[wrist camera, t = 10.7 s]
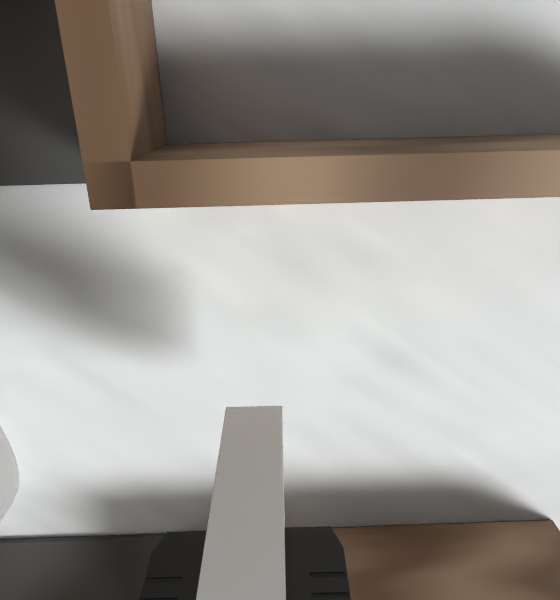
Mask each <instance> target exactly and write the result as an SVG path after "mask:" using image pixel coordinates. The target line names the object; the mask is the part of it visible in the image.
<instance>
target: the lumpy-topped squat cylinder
mask: <svg viewBox="0 0 560 600" xmlns="http://www.w3.org/2000/svg"><path fill="white" fill-rule="evenodd" d="M18 486H19V471H18V466H17V462H16V458H15V456H14V453H13V450H12V448H11V446H10V443H9V441H8V439H7V437H6V435H5V433H4V431H3V430H2V428H1V426H0V521H1V520H2V518H3V517H4V515H5V514H6V512H7V510H8V509H9V507H10V506H11V504H12V503H13V501H14V499H15V497H16V494H17V491H18Z"/></svg>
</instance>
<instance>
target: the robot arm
mask: <svg viewBox="0 0 560 600" xmlns="http://www.w3.org/2000/svg"><path fill="white" fill-rule="evenodd" d="M140 600H351V597H350V588H349V581H348V576H347V568H346V561H345V554H344V548H343V546H342V544H341V542H340V541H339V539H338V538H337V536H336V534H335V533H334V531H333V530H332V528H331V527H296V528H285V516H284V471H283V431H282V406H259V407H226V411H225V417H224V424H223V430H222V437H221V443H220V449H219V456H218V462H217V469H216V475H215V481H214V488H213V494H212V500H211V507H210V513H209V520H208V526H207V531H186V532H167V533H166V534H165V535H164V537H163V538H162V540H161V541H160V542H159V544H158V545H157V546H156V548H155V549H154V551H153V552H152V554H151V558H150V561H149V565H148V569H147V573H146V576H145V583H144V584H143V588H142V591H141V595H140Z"/></svg>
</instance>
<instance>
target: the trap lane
mask: <svg viewBox="0 0 560 600" xmlns="http://www.w3.org/2000/svg"><path fill="white" fill-rule="evenodd" d="M80 183H86V185H87V191H88V197H89V202H90V208H91V210H104V209H140V208H176V207H212V206H248V205H284V204H320V203H356V202H392V201H428V200H464V199H500V198H536V197H560V134H546V135H508V136H470V137H432V138H394V139H356V140H318V141H280V142H242V143H203V144H167V143H166V133H165V124H164V115H163V105H162V96H161V87H160V77H159V68H158V59H157V49H156V40H155V31H154V22H153V12H152V3H151V0H0V186H6V185H43V184H80ZM332 530H333V531H334V533H335V534H336V536H337V538H338V539H339V541H340V542H341V544H342V546H343V548H344V554H345V561H346V568H347V576H348V581H349V588H350V597H351V600H560V531H559V529H558V528H557V526H556V525H555V523H554V522H553V520H542V521H514V522H485V523H457V524H429V525H401V526H373V527H344V528H332ZM164 535H165V534H147V535H119V536H91V537H62V538H34V539H6V540H0V600H140V595H141V591H142V588H143V584H144V583H145V576H146V573H147V569H148V565H149V561H150V558H151V554H152V552H153V551H154V549H155V548H156V546H157V545H158V544H159V542H160V541H161V540H162V538H163V537H164Z"/></svg>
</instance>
